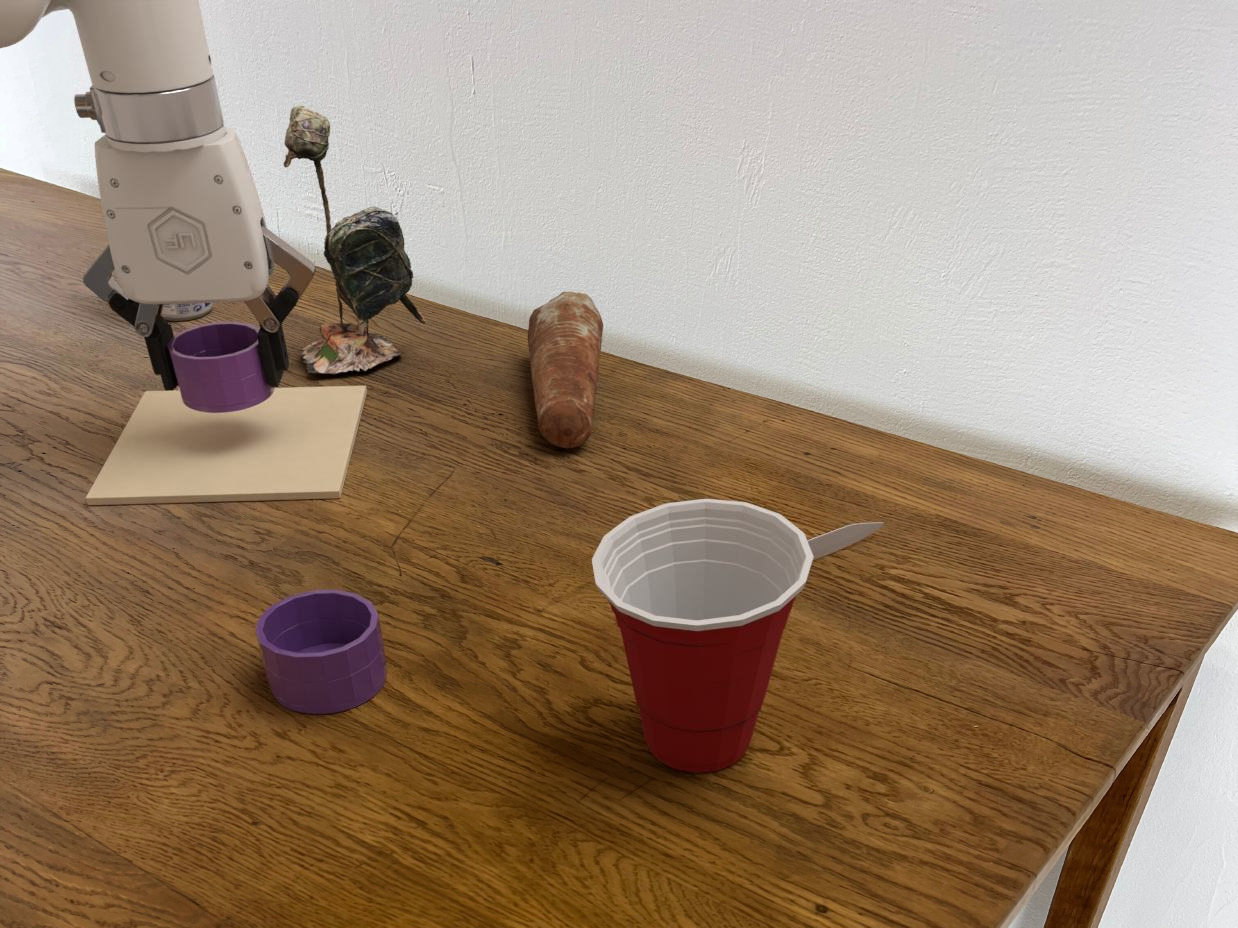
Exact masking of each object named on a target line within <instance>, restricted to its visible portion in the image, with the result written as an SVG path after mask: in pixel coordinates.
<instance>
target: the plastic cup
mask: <svg viewBox="0 0 1238 928" xmlns="http://www.w3.org/2000/svg"><path fill="white" fill-rule="evenodd" d="M807 540H808V539H807V536H806V534H805V532H804V531H802V530H801V529H799V527H797V526H796V525H795V524H793V523H792V522H791V521H790V520H788V519H787V518H786V517H784V516H783V515H782V514H781V513H778V512H775V511H773V510H770V509H767V508H764V507H761V506H757V505H756V504H752V503H748V502H746V501H736V500H724V499H714V498H700V499H693V500H692V499H691V500H683V501H675V502H668V503H667V502H666V503H663V504H661V505H658V506H655V507H652V508H650V509H647V510H644V511H642V512H639V513H636V514H633V515H630V516H628V517H627V518H626V519H624V520H623V521H622V522H620V523H619V524H618V525H617V526H615V527H613V528H612V529H611V530H610V531H609V532H607V533H605V535H603V537H602V539H601V541H600V542H599V545H598V546H597V548H596V550H595V552H594V554H593V556H592V558H591V563H592V569H593V570H592V571H593V575H594V581H595V582H594V583H595V585H596V588H597V589H598V591H599V592H600V593H601V594H602V595H603V597H604V598H605V599H606V600H607V601H608V602H609V605H610V608H611V611H612V612H613V613H614V617H615V621H616V625H617V627H618V628H619V630H620V634H621V638H622V644H623V649H624V652H625V657H626V661H627V666H628V671H629V675H630V679H631V680H630V681H631V685H632V689H633V694H634V698H635V699H634V700H635V703H636V705H637V706H638V710H639V715H640V721H641V725H642V731H643V736H644V742H645V743H646V744H647V748H648V751H649V752H650V753H651V755H653V757H655V759H656V760H657V761H658V762H660V763H662V764H664V765H665V766H668V767H670V768H671V769H673V770H677V771H683V772H689V773H693V774H694V773H695V774H698V773H710V772H717V771H720V770H724V769H726V768H728V767H731V766H733V765H735V764H736V763H737V762H738V761H740V759H741V758H742V757H744V756H745V755H746V751H747V748H748V747H750V744H751V741H752V738H753V735H754V732H755V729H756V724H757V721H758V717H759V715H760V714H759V713H760V711H761V710H762V707H763V704H764V701H765V698H766V695H767V693H768V688H769V685H770V681H771V677H772V673H773V670H774V667H775V662H776V659H777V656H778V652H779V649H780V645H781V640H782V638H783V634H784V630H785V629H786V626H787V623H788V620H789V617H790V614H791V612H792V609H793V606H794V602H795V601H796V598H797V596H798V595H799V594H800V593H801V592H802V591H803V590H804V588H805V586H806V583H807V580H808V577H809V574H810V570H811V567H812V564H813V561H814V560H813V557H814V556H813V554H812V551H811V549H810V546H809V544H808V541H807Z"/></svg>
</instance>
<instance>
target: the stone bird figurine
mask: <svg viewBox="0 0 1238 928" xmlns="http://www.w3.org/2000/svg"><path fill="white" fill-rule="evenodd" d="M330 134H331V123H330V120H329V119H328V118H327V117H326V116H325V115H322V114H320V113H319V112H317V111H313V110H311V109H309V108H307V107H305V105H297V106H294V107H292V108H291V110H290V114H289V124H288V127H287V128H286V132H285V136H284V143H283V144H284V146H285V147H286V149H287V150H288V151H287V153H286V154H285V160H284V161H283V167H284V168H289V167H290V165H291V163H292V160H294V159H297V160H302V159H307V160H309V161H311V162H313V164H314V168H315V173H316V179H317V180H318V181H317V182H318V187H319V189H320V194H321V200H322V206H323V209H324V216H325V217H324V218H325V229H326V236H325V237H324V241H323V245H324V247H323V248H324V250H323V256H324V258H325V259H326V262H327V264H329V266H330V270H331V272H332V276H333V278H334V281H335V291H336V297H337V303H338V312H339V313H338V315H339V319H340V322H336V323H335V322H334V323H325V324H321V325H320V327H319V332H320V334H321V338H319V340H318V341H312V342H311V344H307V346H305V347H302V349H301V350H298V352H302V353H301V354H300V356H303V355H304V356H303V357H302V358H303V359H304V360H303V363H305V365H306V368H305V370H308V371H307V373H312V374H320V375H321V374H324V375H325V374H326V375H328V374H330V375H331V374H332V375H336V374H341V373H347V372H349V371H351V372H353V371H356V372H360V369H361V370H362V371H364V372H368V371H369V369H372V368H374V367H376V366H378V365H381V364H382V363H384V362H388V361H390V360H392V359H393V358H396V357H398V356H401V355H404V354H405V352H400V351H399V350H398V349H397V348H396V347H395V346H394V345H393V343H391V340H390V339H388V337H384V336H383V335H380V334H379V333H378V332H375V333H373V332H369V323H370V322H369V320H371V319H373V318H374V317H376V316H378V315H379V314H380V313H381V312H382V311H383V310H385V308H387V307H388V306H392V305H395V304H397V303H398V302H399V301H400V302H401V304H402V305H403V306H404V307H405V309H406V310H407V311H408V312H409V313H410V314H412V316H413V317H414V318H415V319H416V320H417V321H419V323H422V324H424V325H425V324H426V319H425V317H424V315H423V314H422V313H421V312H420V311H419V310H418V307H416V305H415V304H414V303H413V302H412V301H411V299H410V298H409V297H408V296H407V294H408V293H409V292H410V290H411V288H412V287H413V278H414V272H413V269H412V265H411V264H412V263H411V258H409V255H408V254H407V253H406V250H405V237H404V233H403V229H402V227H401V225H400V222H399V219H397V215H398V214H400V211H399V212H396V213H392V212H391V211H387V210H385V209H383V208H380V207H378V206H369V207H367V208H364V209H362V210H360V211H358V212H356V213H353V214H352V215H348V216H344V217H343V218H342V219H341V220H340V221H337V222H336V223H335V225H334V226H333V227H332V224H331V214H330V213H331V211H330V205H329V199H328V196H327V194H326V193H327V190H326V186H325V177H324V169H323V167H322V163H321V162H322V161H323V160H324V159H325V158H326V156H327V154H328V150H329V148H330V147H329V146H330V142H329V138H330ZM343 303H344V304H345V305H347V307H348V308H349V309H351V311H352V312H353V313H354V316H355V317H356V318H357V324H354V323H352V322H351V323H350V322H343V316H344V315H343V314H344V313H343V312H344V311H343Z"/></svg>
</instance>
